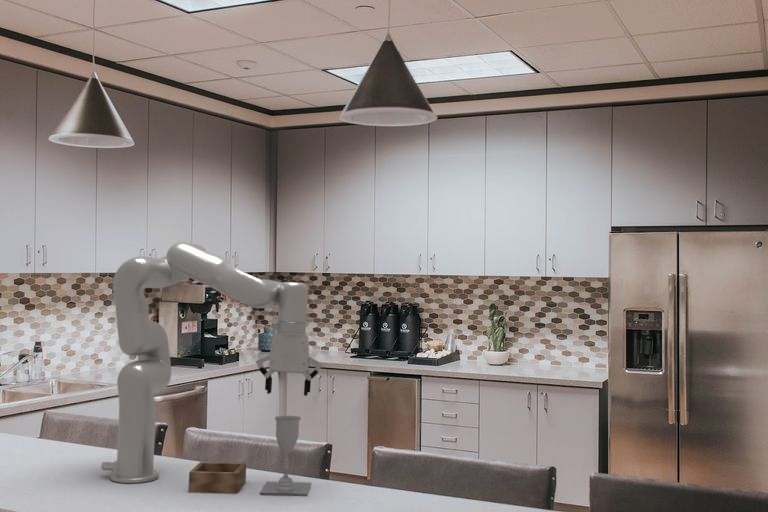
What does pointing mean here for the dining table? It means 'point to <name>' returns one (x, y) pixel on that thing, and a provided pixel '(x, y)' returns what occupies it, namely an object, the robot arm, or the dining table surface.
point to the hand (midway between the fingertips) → (287, 394)
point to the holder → (217, 477)
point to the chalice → (286, 445)
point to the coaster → (299, 490)
